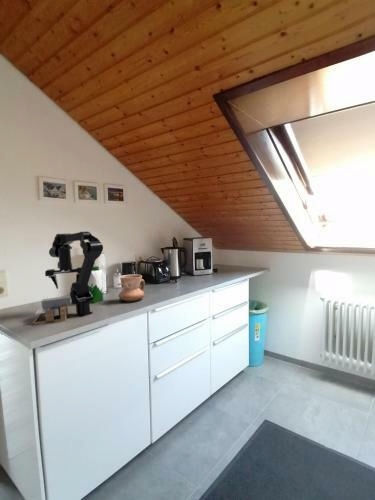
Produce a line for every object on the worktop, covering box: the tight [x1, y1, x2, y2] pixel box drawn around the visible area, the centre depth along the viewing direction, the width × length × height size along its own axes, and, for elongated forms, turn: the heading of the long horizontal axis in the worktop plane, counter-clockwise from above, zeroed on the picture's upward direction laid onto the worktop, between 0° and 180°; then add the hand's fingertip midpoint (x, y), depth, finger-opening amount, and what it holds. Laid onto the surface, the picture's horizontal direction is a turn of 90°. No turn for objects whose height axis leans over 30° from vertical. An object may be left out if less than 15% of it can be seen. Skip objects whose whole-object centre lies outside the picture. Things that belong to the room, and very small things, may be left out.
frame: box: [32, 305, 70, 326], centre depth 137 cm, size 16×14×6 cm
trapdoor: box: [34, 306, 62, 317], centre depth 136 cm, size 12×10×3 cm
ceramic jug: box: [117, 273, 146, 302], centre depth 166 cm, size 18×14×14 cm
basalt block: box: [41, 295, 73, 309], centre depth 139 cm, size 4×5×12 cm
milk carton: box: [88, 265, 104, 304], centre depth 166 cm, size 9×9×20 cm
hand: (67, 287), depth 148 cm, fingers open, 9 cm apart
